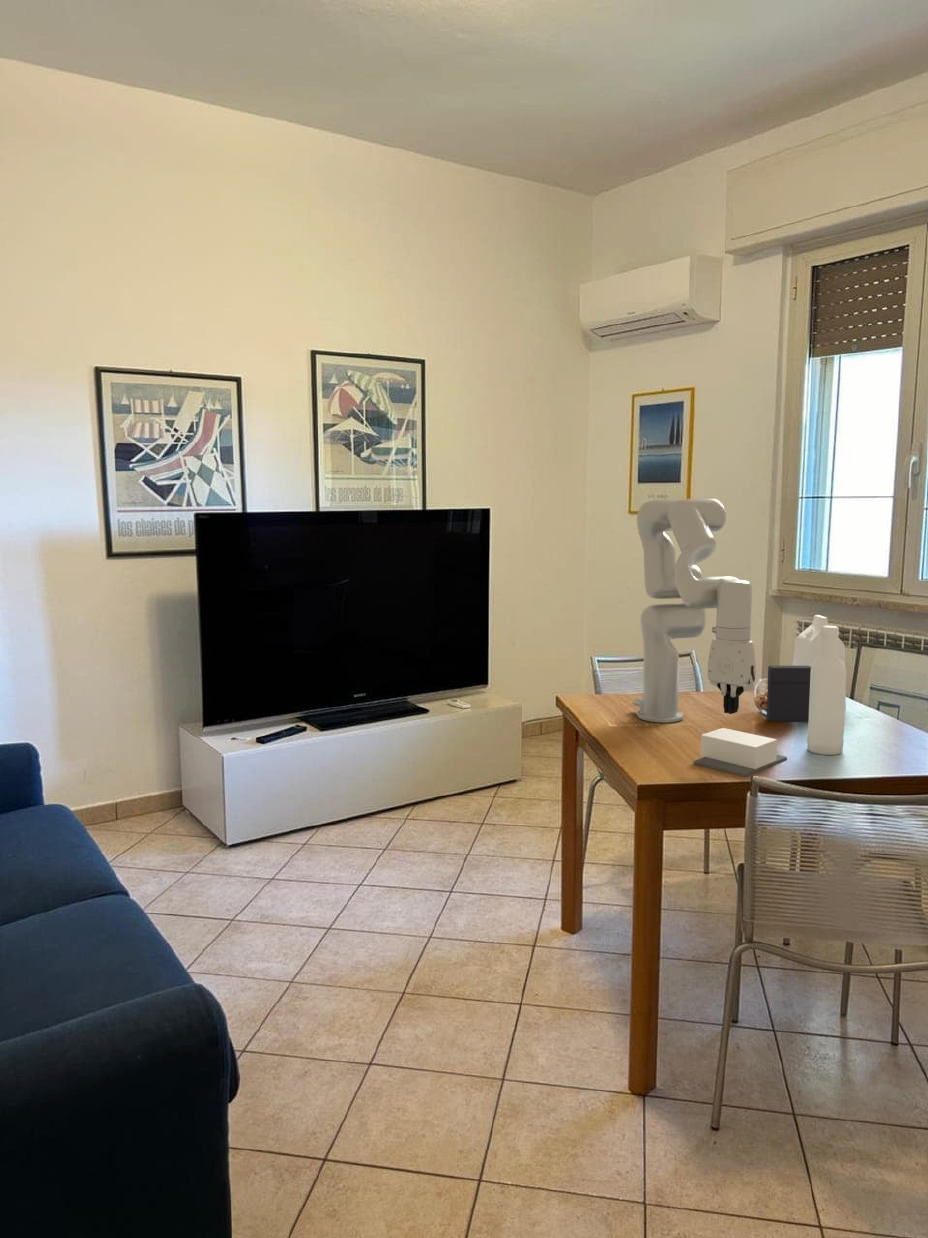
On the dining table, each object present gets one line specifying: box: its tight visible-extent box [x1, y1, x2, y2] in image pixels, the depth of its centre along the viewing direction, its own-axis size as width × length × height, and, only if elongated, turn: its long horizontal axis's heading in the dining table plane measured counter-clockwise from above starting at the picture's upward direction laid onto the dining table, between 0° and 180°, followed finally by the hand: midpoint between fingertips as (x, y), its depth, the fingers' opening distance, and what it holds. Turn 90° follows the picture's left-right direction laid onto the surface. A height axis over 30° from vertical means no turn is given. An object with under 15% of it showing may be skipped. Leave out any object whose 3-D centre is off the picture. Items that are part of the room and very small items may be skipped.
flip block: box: [700, 727, 778, 769], centre depth 197 cm, size 5×9×14 cm
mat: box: [693, 754, 788, 777], centre depth 197 cm, size 13×18×1 cm
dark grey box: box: [766, 665, 811, 723], centre depth 231 cm, size 11×4×15 cm, turn 84°
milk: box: [792, 614, 847, 710], centre depth 248 cm, size 12×12×26 cm
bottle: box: [806, 625, 847, 756], centre depth 202 cm, size 8×8×30 cm
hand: (730, 712), depth 197 cm, fingers closed
